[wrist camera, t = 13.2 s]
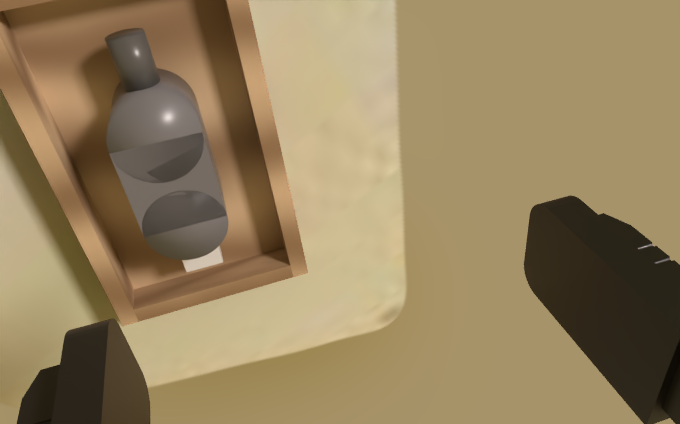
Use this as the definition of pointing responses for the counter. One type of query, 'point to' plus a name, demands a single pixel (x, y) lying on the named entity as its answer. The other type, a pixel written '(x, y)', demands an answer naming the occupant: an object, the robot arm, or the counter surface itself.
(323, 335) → the counter surface
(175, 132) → the gray bottle
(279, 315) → the counter surface
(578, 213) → the robot arm
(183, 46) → the oak tray
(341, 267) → the counter surface
